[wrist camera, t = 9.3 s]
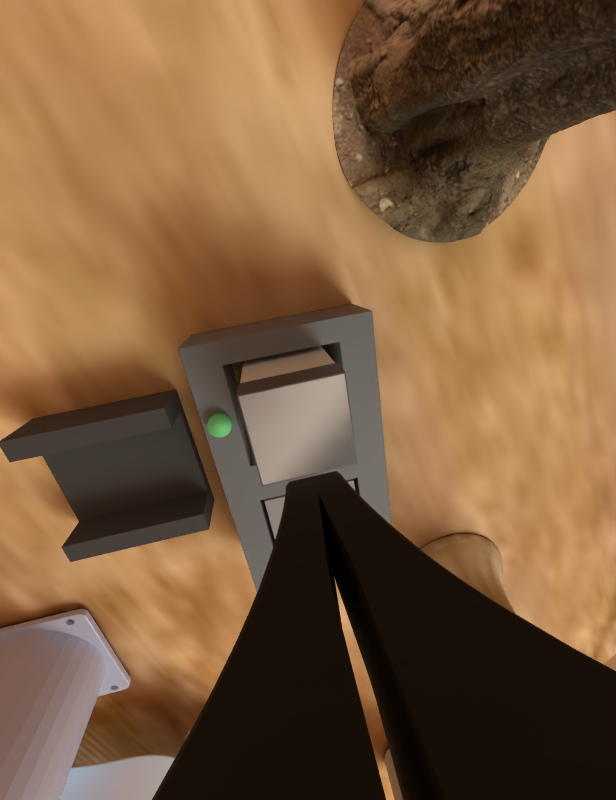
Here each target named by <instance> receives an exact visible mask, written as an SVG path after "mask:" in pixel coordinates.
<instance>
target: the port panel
mask: <svg viewBox="0 0 616 800" xmlns="http://www.w3.org/2000/svg"><path fill="white" fill-rule="evenodd" d="M326 344H328V346H329V353H330V357H331V359H332V360H333V361H334V362H335V363H338V364H339V365H340V366H341V367H342V368H343V370H344V371H345V372H346V378H347V386H348V393H349V400H350V407H351V415H352V422H353V429H354V436H355V443H356V451H357V458H358V464H356V465H352V466H347V467H343V468H339V469H335V470H331V471H326V472H322V473H318V474H314V475H309V476H305V477H301V478H297V479H292V480H288V481H284V482H280V483H276V484H271V485H267V486H263V487H262V485H261V481H260V478H259V474H258V470H257V467H256V463H255V460H254V456H253V453H252V449H251V446H250V442H249V438H248V435H247V431H246V428H245V424H244V421H243V417H242V414H241V410H240V406H239V403H238V399H237V396H236V395H237V389H238V386H237V382H236V378H235V375H234V371H233V367H232V363H236V362H241V361H246V360H251V359H256V358H261V357H266V356H271V355H276V354H281V353H286V352H291V351H296V350H301V349H306V348H311V347H316V346H321V345H326ZM178 352H179V355H180V358H181V361H182V364H183V367H184V370H185V373H186V376H187V379H188V382H189V385H190V388H191V391H192V394H193V397H194V401H195V404H196V407H197V410H198V413H199V416H200V419H201V422H202V425H203V428H204V431H205V434H206V437H207V440H208V443H209V447H210V450H211V453H212V456H213V459H214V462H215V465H216V468H217V471H218V474H219V477H220V480H221V483H222V486H223V489H224V492H225V496H226V499H227V502H228V505H229V508H230V511H231V514H232V517H233V520H234V523H235V526H236V529H237V532H238V535H239V538H240V541H241V545H242V548H243V551H244V554H245V557H246V560H247V563H248V566H249V569H250V572H251V575H252V578H253V581H254V584H255V587H256V590H257V592H258V589H259V587H260V584H261V581H262V578H263V575H264V573H265V570H266V567H267V564H268V561H269V558H270V555H271V552H272V549H273V546H274V542H275V539H276V535H277V531H278V528H279V524H280V520H281V516H282V511H283V506H284V501H285V493H286V485H287V484H288V483H289V482H290V481H294V480H298V479H303V478H307V477H311V476H316V475H320V474H324V473H329V472H333V471H337V472H339V473H340V474H341V475H342V476H343V477H344V479H345V480H346V481H347V482H348V483H349V484H350V486H351V487H352V488H353V489H354V490H355V491H356V492H357V493H358V494H359V495H360V496H361V497H362V498H363V499H364V500H365V501H366V502H367V503H368V504H369V505H370V506H371V507H372V508H373V509H374V510H375V511H376V512H377V513H378V514H380V515H381V516H382V517H383V518H384V519H385V520H386V521H387V522H388V523H389V524H390V525H391V516H390V505H389V493H388V482H387V471H386V460H385V449H384V438H383V427H382V416H381V405H380V393H379V382H378V371H377V360H376V349H375V338H374V327H373V316H372V311H371V310H368V309H365V308H363V307H360V306H357V305H354V304H349V305H344V306H339V307H334V308H329V309H324V310H318V311H313V312H308V313H303V314H298V315H293V316H287V317H282V318H277V319H272V320H267V321H262V322H256V323H251V324H246V325H241V326H236V327H231V328H225V329H220V330H215V331H210V332H205V333H200V334H194V335H191V336H190V337H189V338H188V339H187V340H186V341H185V342H184V343H183V344H182V345H181V346H180V347H179V348H178Z"/></svg>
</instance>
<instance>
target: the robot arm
mask: <svg viewBox="0 0 616 800" xmlns="http://www.w3.org/2000/svg"><path fill="white" fill-rule="evenodd" d="M334 577H335V579H334ZM335 580H336V583H337V586H338V589H339V592H340V595H341V597H342V600H343V603H344V606H345V609H346V612H347V615H348V618H349V620H350V623H351V626H352V629H353V632H354V635H355V638H356V640H357V643H358V646H359V649H360V652H361V655H362V658H363V661H364V663H365V666H366V669H367V672H368V675H369V678H370V681H371V685H372V688H373V691H374V694H375V697H376V701H377V705H378V708H379V712H380V716H381V719H382V723H383V727H384V730H385V734H386V738H387V742H388V745H389V749H390V753H391V756H392V760H393V764H394V768H395V771H396V775H397V779H398V783H399V786H400V790H401V794H402V798H403V800H616V671H614V670H613V669H611V668H609V667H607V666H605V665H603V664H601V663H600V662H598V661H596V660H594V659H592V658H590V657H589V656H587V655H585V654H583V653H581V652H579V651H577V650H576V649H574V648H572V647H570V646H569V645H567V644H565V643H564V642H562V641H560V640H558V639H557V638H555V637H553V636H552V635H550V634H548V633H547V632H545V631H543V630H542V629H540V628H538V627H536V626H535V625H533V624H531V623H530V622H528V621H526V620H525V619H523V618H521V617H520V616H518V615H516V614H514V613H513V612H511V611H509V610H508V609H506V608H504V607H503V606H501V605H499V604H498V603H496V602H495V601H493V600H492V599H490V598H489V597H487V596H486V595H484V594H483V593H481V592H479V591H478V590H476V589H475V588H473V587H472V586H470V585H469V584H467V583H466V582H464V581H463V580H462V579H460V578H459V577H457V576H456V575H454V574H453V573H452V572H450V571H449V570H447V569H446V568H444V567H443V566H442V565H440V564H439V563H438V562H436V561H435V560H434V559H432V558H431V557H430V556H428V555H427V554H426V553H424V552H423V551H422V550H421V549H419V548H418V547H417V546H416V545H414V544H413V543H412V542H411V541H409V540H408V539H407V538H406V537H405V536H403V535H402V534H401V533H400V532H399V531H397V530H396V529H395V528H394V527H393V526H392V525H390V524H389V523H388V522H387V521H386V520H385V519H384V518H383V517H382V516H381V515H380V514H378V513H377V512H376V511H375V510H374V509H373V508H372V507H371V506H370V505H369V504H368V503H367V502H366V501H365V500H364V499H363V498H362V497H361V496H360V495H359V494H358V493H357V492H356V491H355V490H354V489H353V488H352V487H351V486H350V484H349V483H348V482H347V481H346V480H345V479H344V477H343V476H342V475H341V474H340V473H339V472H337V471H333V472H329V473H324V474H320V475H316V476H311V477H307V478H303V479H298V480H294V481H290V482H289V483H288V484H287V485H286V493H285V501H284V506H283V511H282V516H281V520H280V524H279V528H278V531H277V535H276V539H275V542H274V546H273V549H272V552H271V555H270V558H269V561H268V564H267V567H266V570H265V573H264V575H263V578H262V581H261V584H260V587H259V589H258V592H257V594H256V597H255V599H254V602H253V604H252V607H251V609H250V612H249V614H248V616H247V619H246V621H245V623H244V625H243V628H242V630H241V632H240V635H239V637H238V639H237V641H236V643H235V645H234V647H233V650H232V652H231V654H230V656H229V658H228V660H227V662H226V664H225V666H224V668H223V670H222V672H221V674H220V676H219V678H218V680H217V682H216V684H215V686H214V688H213V690H212V692H211V694H210V696H209V698H208V700H207V702H206V704H205V706H204V708H203V710H202V711H201V713H200V715H199V717H198V719H197V721H196V722H195V724H194V726H193V728H192V730H191V731H190V733H189V735H188V737H187V738H186V740H185V742H184V744H183V746H182V747H181V749H180V751H179V753H178V754H177V756H176V758H175V760H174V762H173V763H172V765H171V767H170V769H169V770H168V772H167V774H166V776H165V777H164V779H163V781H162V783H161V785H160V786H159V788H158V790H157V792H156V794H155V795H154V797H153V799H152V800H386V798H385V794H384V790H383V786H382V782H381V778H380V775H379V771H378V767H377V763H376V759H375V755H374V751H373V747H372V743H371V739H370V736H369V732H368V728H367V724H366V720H365V716H364V712H363V708H362V704H361V700H360V697H359V693H358V689H357V685H356V681H355V677H354V673H353V669H352V665H351V661H350V657H349V653H348V649H347V645H346V641H345V637H344V633H343V630H342V624H341V617H340V611H339V605H338V598H337V592H336V585H335ZM130 681H131V678H130V677H129V675H128V673H127V672H126V670H125V669H124V667H123V666H122V664H121V662H120V661H119V659H118V658H117V656H116V654H115V653H114V651H113V650H112V648H111V647H110V645H109V643H108V642H107V640H106V639H105V637H104V635H103V634H102V632H101V631H100V629H99V627H98V626H97V624H96V623H95V621H94V620H93V618H92V616H91V615H90V613H89V612H88V611H87V610H85V609H77V610H73V611H69V612H65V613H61V614H57V615H53V616H49V617H45V618H41V619H37V620H33V621H28V622H24V623H20V624H16V625H12V626H8V627H4V628H0V800H59V799H60V797H61V794H62V791H63V789H64V786H65V783H66V781H67V778H68V775H69V772H70V770H71V767H72V764H73V762H74V759H75V756H76V753H77V751H78V748H79V745H80V743H81V740H82V737H83V735H84V732H85V729H86V726H87V724H88V721H89V718H90V716H91V713H92V710H93V708H94V705H95V702H96V699H97V697H98V696H101V695H105V694H109V693H113V692H116V691H120V690H124V689H126V688H128V687H129V685H130Z"/></svg>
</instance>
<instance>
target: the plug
mask: <svg viewBox="0 0 616 800" xmlns="http://www.w3.org/2000/svg"><path fill="white" fill-rule="evenodd" d="M236 396H237V399H238V403H239V406H240V410H241V414H242V417H243V421H244V424H245V428H246V431H247V435H248V438H249V442H250V446H251V449H252V453H253V456H254V460H255V463H256V467H257V470H258V474H259V478H260V481H261V485H262V487H263V486H267V485H271V484H276V483H280V482H284V481H288V480H292V479H297V478H301V477H305V476H309V475H314V474H318V473H322V472H326V471H331V470H335V469H339V468H343V467H347V466H352V465H356V464H358V458H357V451H356V443H355V436H354V429H353V422H352V415H351V407H350V400H349V393H348V386H347V378H346V372H345V371H344V370H343V368H342V367H341V366H340V365H339V364H338V363H335V362H334V361H333V360H332V359H331V357H330V356H329V355H328V354H327V353H326V351H325V350H324V349H323V348H322V347H321V346H316V347H311V348H306V349H301V350H296V351H291V352H286V353H281V354H276V355H271V356H266V357H261V358H256V359H251V360H246V361H243V367H242V374H241V382H240V383H239V384H238V389H237V395H236Z"/></svg>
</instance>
